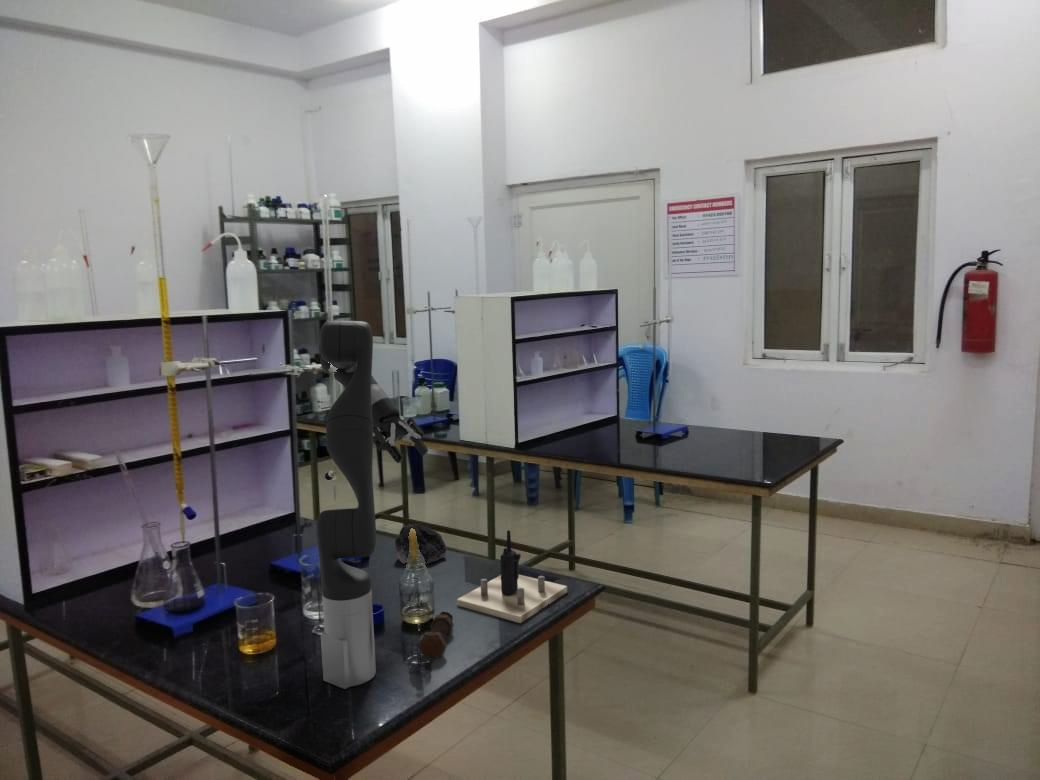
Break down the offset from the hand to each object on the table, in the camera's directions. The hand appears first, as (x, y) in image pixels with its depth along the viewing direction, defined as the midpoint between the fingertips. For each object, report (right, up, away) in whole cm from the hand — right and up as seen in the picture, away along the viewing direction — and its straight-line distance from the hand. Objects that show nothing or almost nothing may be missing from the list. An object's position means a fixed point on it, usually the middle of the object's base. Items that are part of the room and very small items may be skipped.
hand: (413, 457), depth 185 cm
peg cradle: (+24, -34, -1) cm, 41 cm away
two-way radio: (+24, -32, -2) cm, 40 cm away
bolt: (+9, -37, -22) cm, 44 cm away
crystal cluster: (-2, -30, +27) cm, 41 cm away
